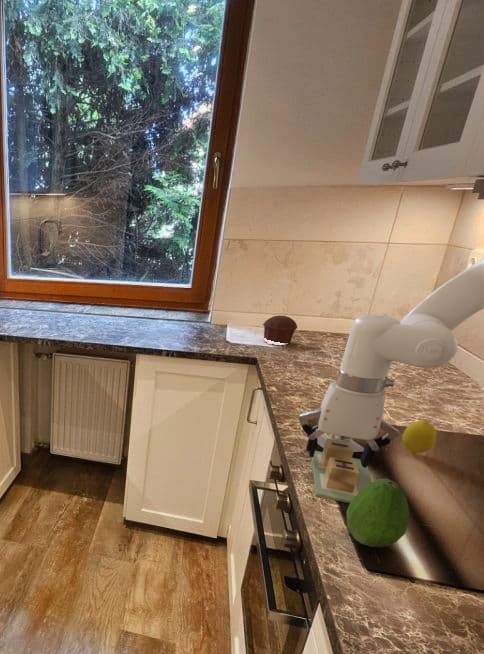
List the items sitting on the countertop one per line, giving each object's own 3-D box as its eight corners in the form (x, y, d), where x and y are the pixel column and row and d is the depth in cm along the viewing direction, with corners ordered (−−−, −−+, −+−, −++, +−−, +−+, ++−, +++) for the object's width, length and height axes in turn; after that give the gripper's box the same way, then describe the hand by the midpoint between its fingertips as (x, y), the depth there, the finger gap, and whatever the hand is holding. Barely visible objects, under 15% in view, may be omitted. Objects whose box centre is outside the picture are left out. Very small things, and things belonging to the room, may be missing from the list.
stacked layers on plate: (302, 432, 112) (308, 411, 110) (338, 430, 113) (344, 409, 110) (329, 453, 103) (336, 430, 101) (368, 451, 103) (375, 429, 101)
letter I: (345, 460, 99) (351, 441, 97) (347, 471, 95) (353, 451, 93) (321, 456, 100) (326, 437, 98) (322, 466, 97) (328, 446, 95)
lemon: (435, 458, 101) (449, 425, 97) (413, 461, 100) (426, 427, 96) (412, 446, 105) (424, 414, 102) (391, 448, 105) (402, 416, 101)
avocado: (343, 550, 75) (365, 487, 70) (336, 522, 81) (356, 462, 76) (403, 565, 72) (430, 500, 67) (391, 534, 78) (415, 473, 73)
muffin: (283, 338, 184) (289, 312, 179) (299, 346, 174) (306, 320, 169) (254, 338, 183) (259, 313, 179) (268, 347, 173) (274, 320, 169)
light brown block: (349, 481, 92) (356, 461, 90) (352, 493, 88) (359, 472, 86) (324, 475, 93) (330, 456, 92) (325, 487, 90) (331, 466, 88)
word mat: (364, 462, 99) (365, 459, 99) (378, 509, 84) (379, 506, 84) (311, 452, 103) (311, 449, 103) (315, 495, 88) (316, 492, 88)
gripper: (410, 382, 90) (383, 460, 97) (307, 369, 97) (289, 442, 104) (420, 396, 83) (390, 478, 91) (309, 381, 90) (289, 458, 98)
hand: (336, 459), depth 97 cm, fingers open, 9 cm apart
